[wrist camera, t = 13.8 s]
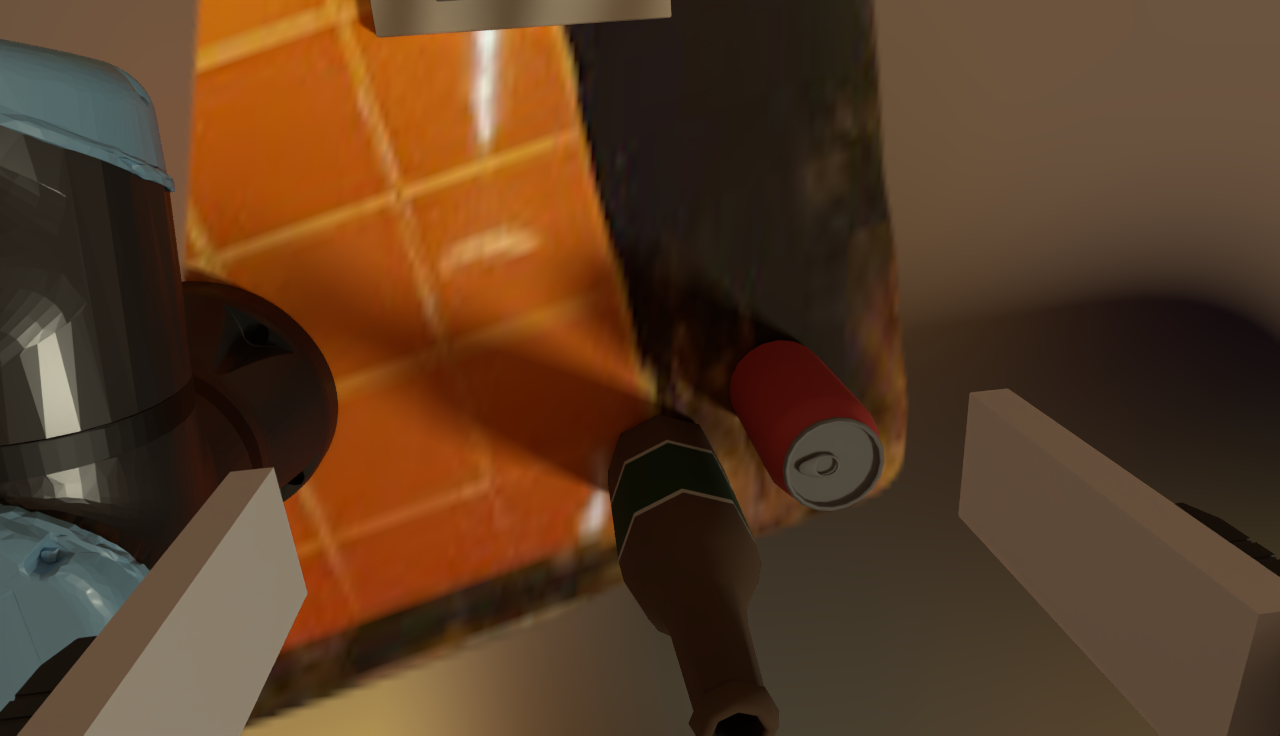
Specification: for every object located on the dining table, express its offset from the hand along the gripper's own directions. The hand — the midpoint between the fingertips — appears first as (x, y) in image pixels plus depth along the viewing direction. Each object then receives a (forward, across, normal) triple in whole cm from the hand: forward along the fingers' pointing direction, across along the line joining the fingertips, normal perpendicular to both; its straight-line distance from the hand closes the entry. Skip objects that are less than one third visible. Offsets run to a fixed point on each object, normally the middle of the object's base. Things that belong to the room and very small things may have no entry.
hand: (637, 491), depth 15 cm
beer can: (+35, +12, -13) cm, 39 cm away
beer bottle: (+35, +4, -18) cm, 39 cm away
